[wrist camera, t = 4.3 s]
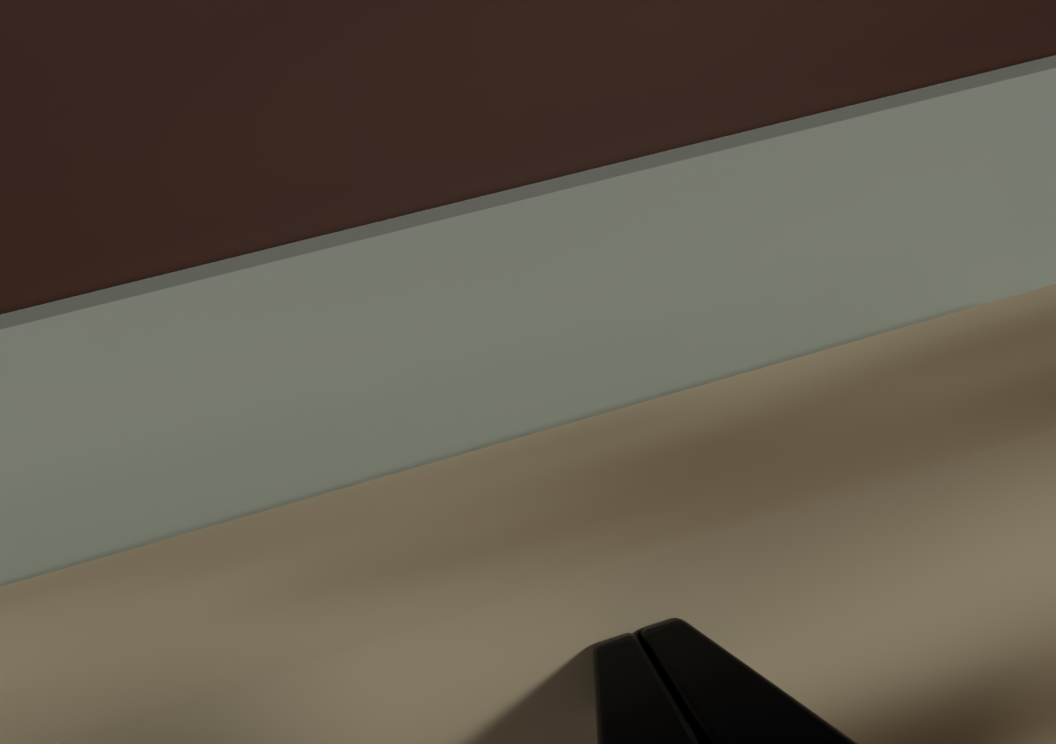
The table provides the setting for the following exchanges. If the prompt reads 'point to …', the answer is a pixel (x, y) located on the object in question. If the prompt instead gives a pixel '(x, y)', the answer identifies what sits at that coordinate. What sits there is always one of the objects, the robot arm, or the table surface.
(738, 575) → the plank
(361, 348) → the underlay mat
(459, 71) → the table surface
